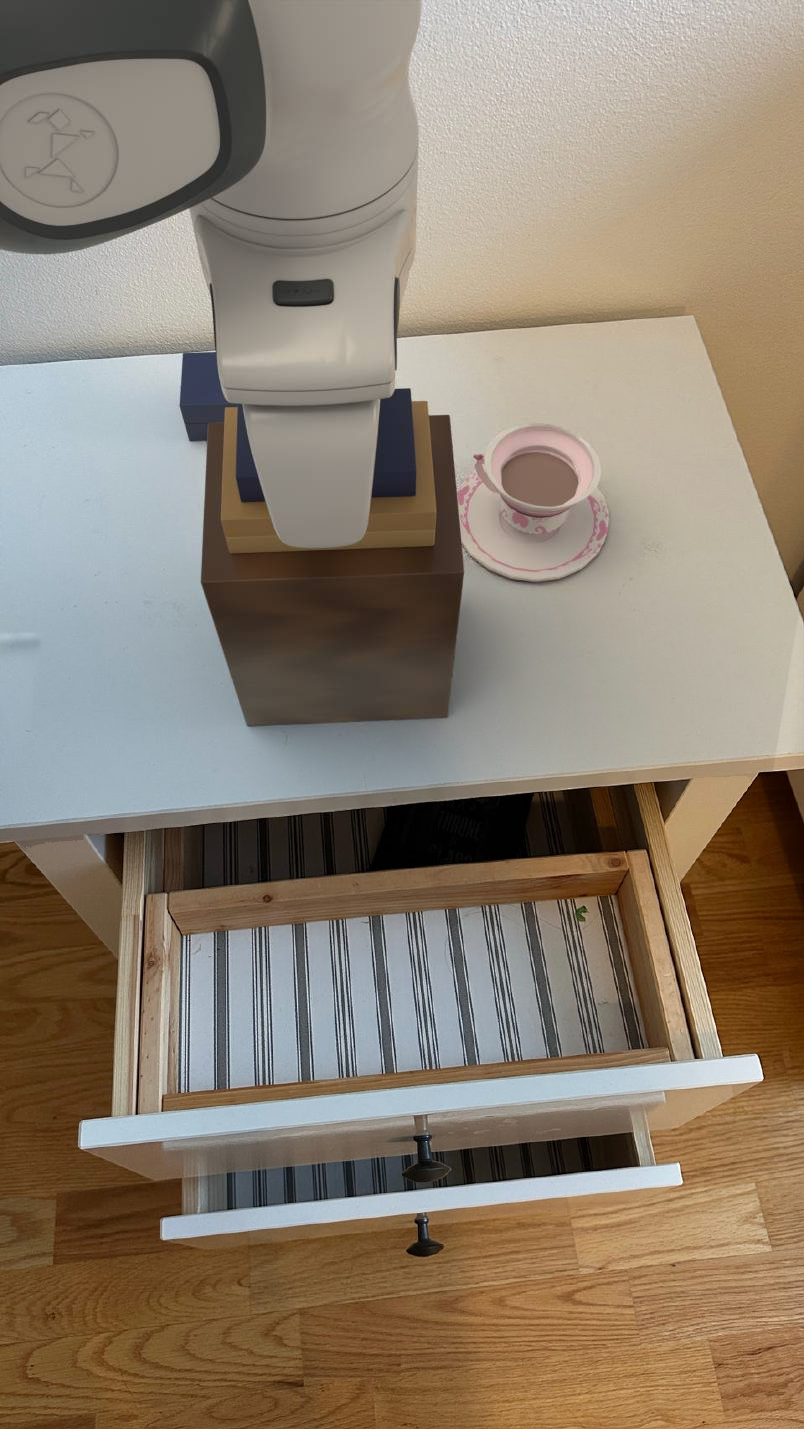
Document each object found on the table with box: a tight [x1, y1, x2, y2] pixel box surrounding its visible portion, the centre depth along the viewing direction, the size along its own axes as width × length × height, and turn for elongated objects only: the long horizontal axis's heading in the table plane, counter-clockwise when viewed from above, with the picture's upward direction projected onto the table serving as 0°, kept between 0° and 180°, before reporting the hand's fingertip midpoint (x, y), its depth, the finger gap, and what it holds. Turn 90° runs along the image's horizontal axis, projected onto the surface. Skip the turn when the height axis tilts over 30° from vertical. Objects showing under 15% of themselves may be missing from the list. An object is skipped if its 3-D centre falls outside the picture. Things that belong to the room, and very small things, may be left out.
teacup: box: [457, 422, 610, 583], centre depth 73 cm, size 12×12×6 cm
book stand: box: [200, 414, 465, 727], centre depth 62 cm, size 14×11×18 cm
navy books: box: [179, 351, 238, 442], centre depth 78 cm, size 9×6×4 cm, turn 93°
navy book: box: [235, 387, 417, 502], centre depth 51 cm, size 9×6×2 cm, turn 93°
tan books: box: [221, 400, 436, 554], centre depth 53 cm, size 11×8×3 cm
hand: (326, 449), depth 51 cm, fingers closed on navy book, 5 cm apart
